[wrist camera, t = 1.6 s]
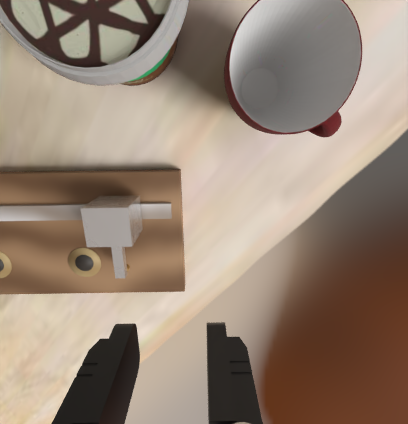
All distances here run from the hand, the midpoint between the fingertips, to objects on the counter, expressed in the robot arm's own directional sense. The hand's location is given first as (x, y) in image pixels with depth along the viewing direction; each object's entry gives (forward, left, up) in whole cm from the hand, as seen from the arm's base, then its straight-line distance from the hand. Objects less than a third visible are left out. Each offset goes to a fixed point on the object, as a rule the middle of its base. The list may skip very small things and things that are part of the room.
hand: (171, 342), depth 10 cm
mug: (-11, +8, -19) cm, 24 cm away
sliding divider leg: (+2, -7, -17) cm, 18 cm away
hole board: (+3, -13, -19) cm, 23 cm away
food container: (-14, -5, -19) cm, 24 cm away
